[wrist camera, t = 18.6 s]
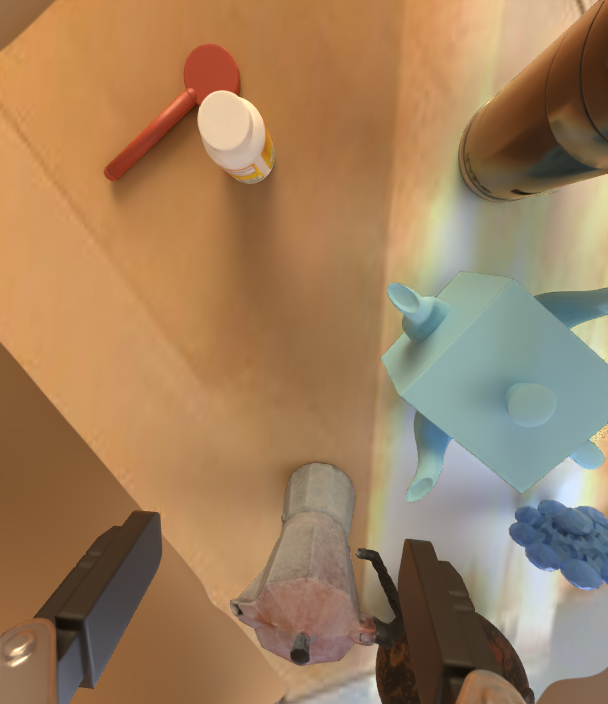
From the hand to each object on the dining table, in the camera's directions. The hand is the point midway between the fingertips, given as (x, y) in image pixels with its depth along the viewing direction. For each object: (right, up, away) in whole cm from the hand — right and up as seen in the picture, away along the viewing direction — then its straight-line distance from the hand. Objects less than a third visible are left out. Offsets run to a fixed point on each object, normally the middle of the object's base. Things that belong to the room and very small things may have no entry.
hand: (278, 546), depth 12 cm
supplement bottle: (-5, +26, +24) cm, 36 cm away
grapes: (+30, -12, +33) cm, 46 cm away
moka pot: (+3, -11, +34) cm, 36 cm away
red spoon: (-13, +29, +24) cm, 40 cm away
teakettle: (+18, +7, +28) cm, 34 cm away
